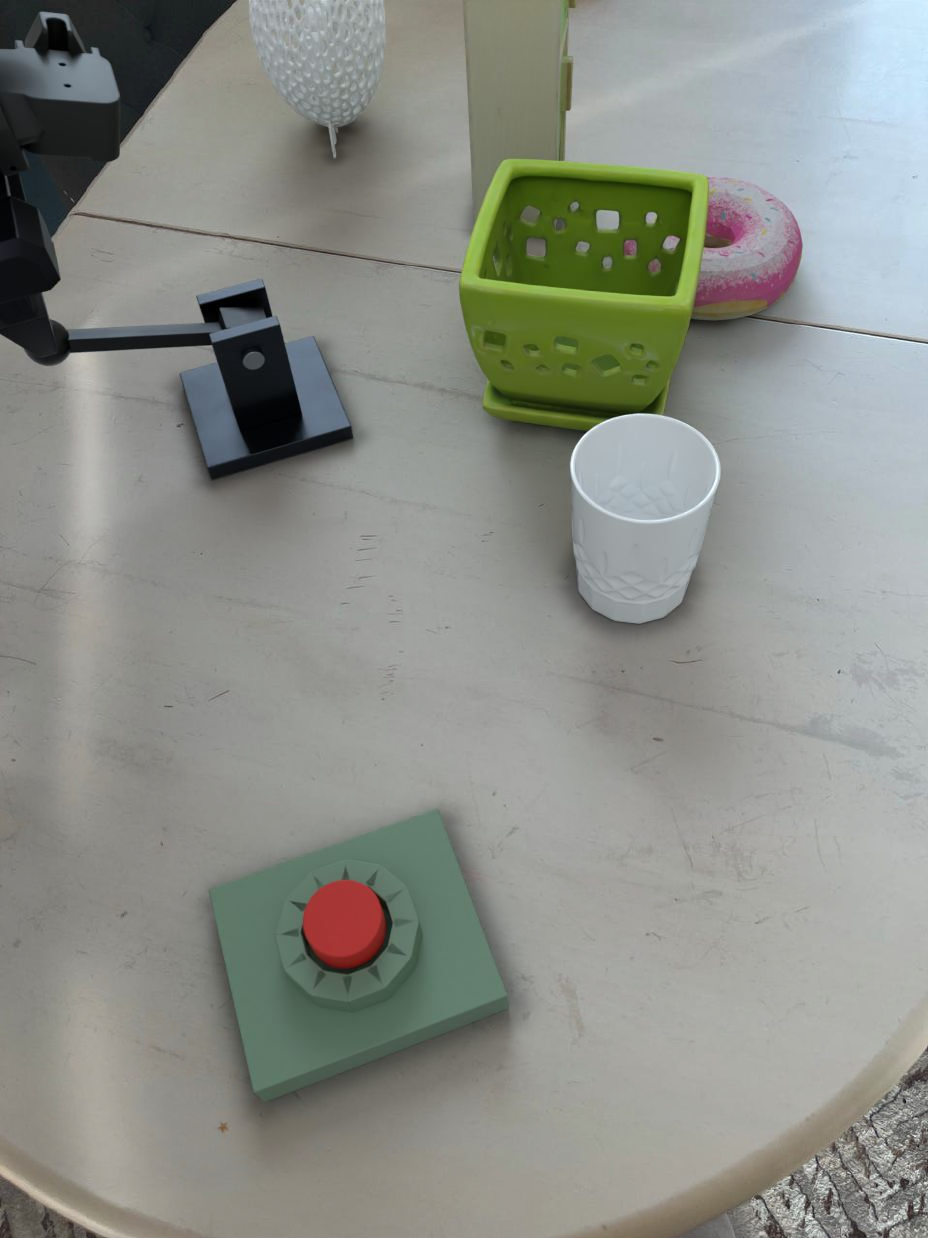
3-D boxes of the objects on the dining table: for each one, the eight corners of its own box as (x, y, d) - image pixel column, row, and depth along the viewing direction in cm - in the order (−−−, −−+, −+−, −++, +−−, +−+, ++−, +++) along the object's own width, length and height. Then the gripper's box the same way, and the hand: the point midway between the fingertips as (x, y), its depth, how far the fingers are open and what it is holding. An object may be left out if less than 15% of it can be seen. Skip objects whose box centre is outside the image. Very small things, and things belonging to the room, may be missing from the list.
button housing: (263, 1103, 49) (244, 1084, 45) (218, 904, 54) (198, 874, 51) (508, 1009, 50) (506, 984, 47) (441, 825, 56) (434, 792, 53)
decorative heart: (290, 75, 100) (249, -134, 86) (402, 70, 100) (379, -141, 86) (264, 187, 90) (214, -29, 76) (389, 182, 89) (361, -37, 75)
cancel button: (320, 981, 48) (314, 969, 47) (300, 908, 50) (293, 895, 48) (396, 953, 48) (391, 940, 47) (373, 882, 50) (368, 868, 49)
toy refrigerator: (565, 236, 84) (571, -53, 67) (473, 232, 85) (456, -54, 68) (574, 178, 88) (583, -108, 71) (487, 174, 89) (474, -108, 72)
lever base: (211, 480, 71) (174, 381, 64) (183, 385, 77) (146, 283, 69) (354, 438, 72) (333, 337, 65) (316, 347, 78) (293, 245, 71)
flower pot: (670, 467, 69) (693, 310, 59) (462, 442, 72) (449, 286, 61) (692, 326, 77) (716, 165, 66) (504, 307, 79) (498, 149, 69)
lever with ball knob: (27, 376, 64) (22, 338, 62) (22, 348, 66) (17, 309, 64) (269, 361, 70) (271, 326, 67) (259, 335, 71) (261, 299, 69)
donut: (631, 344, 76) (637, 287, 72) (600, 232, 84) (603, 174, 80) (817, 324, 76) (833, 266, 72) (769, 214, 84) (781, 155, 80)
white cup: (633, 656, 61) (648, 548, 53) (539, 577, 65) (539, 464, 57) (725, 580, 64) (752, 466, 56) (629, 509, 67) (641, 391, 59)
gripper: (102, 97, 44) (205, 368, 58) (48, -98, 54) (147, 173, 67) (-167, 167, 43) (2, 428, 56) (-173, -45, 53) (-28, 220, 66)
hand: (39, 301), depth 62 cm, fingers open, 9 cm apart
